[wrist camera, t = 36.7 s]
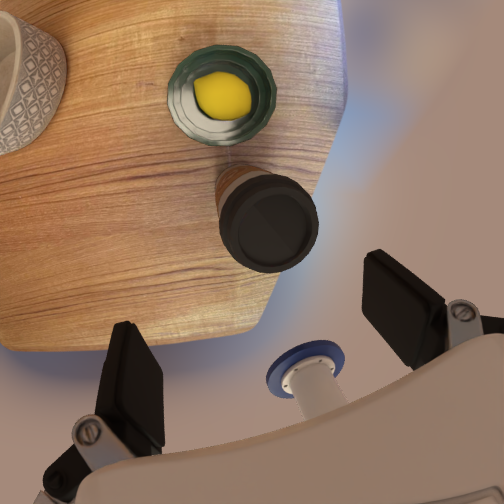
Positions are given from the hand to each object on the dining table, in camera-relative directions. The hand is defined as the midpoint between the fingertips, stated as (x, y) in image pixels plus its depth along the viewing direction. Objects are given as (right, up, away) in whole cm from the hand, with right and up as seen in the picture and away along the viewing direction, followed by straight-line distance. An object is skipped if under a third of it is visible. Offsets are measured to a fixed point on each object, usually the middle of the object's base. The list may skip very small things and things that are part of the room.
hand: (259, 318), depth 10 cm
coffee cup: (-2, +11, +25) cm, 27 cm away
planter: (-30, +23, +11) cm, 40 cm away
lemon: (-4, +20, +18) cm, 28 cm away
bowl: (-4, +20, +19) cm, 28 cm away
